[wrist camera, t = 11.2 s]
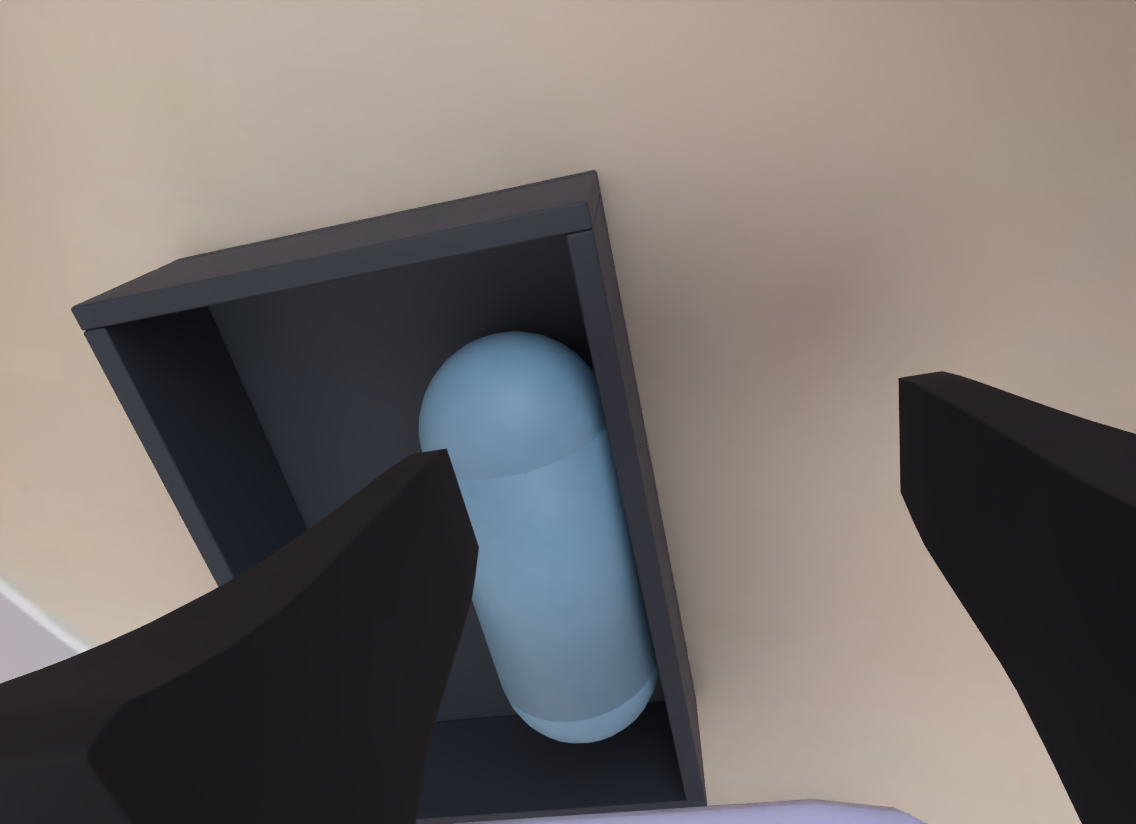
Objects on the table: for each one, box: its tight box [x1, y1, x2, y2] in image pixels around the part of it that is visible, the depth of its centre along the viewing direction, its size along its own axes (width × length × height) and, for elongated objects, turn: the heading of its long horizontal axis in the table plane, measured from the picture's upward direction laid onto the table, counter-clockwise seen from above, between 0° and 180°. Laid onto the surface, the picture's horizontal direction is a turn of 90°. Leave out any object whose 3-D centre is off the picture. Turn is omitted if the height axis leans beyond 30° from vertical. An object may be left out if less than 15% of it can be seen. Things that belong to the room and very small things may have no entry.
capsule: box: [419, 331, 659, 743], centre depth 20 cm, size 13×5×5 cm
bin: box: [71, 170, 707, 824], centre depth 21 cm, size 19×12×4 cm, turn 12°
